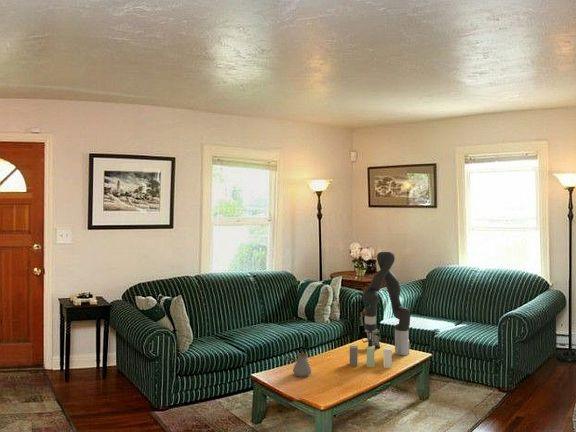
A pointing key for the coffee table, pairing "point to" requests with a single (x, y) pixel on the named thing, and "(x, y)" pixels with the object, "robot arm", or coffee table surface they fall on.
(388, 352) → the off white pillar
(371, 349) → the sage green pillar
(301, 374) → the coffee pot
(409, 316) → the robot arm
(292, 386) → the coffee table surface
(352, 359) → the slate grey pillar
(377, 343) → the figurine
